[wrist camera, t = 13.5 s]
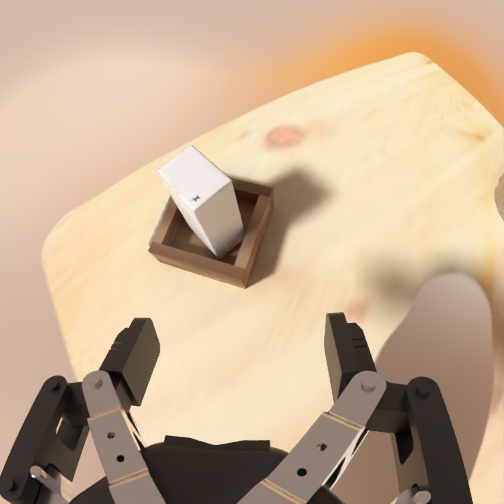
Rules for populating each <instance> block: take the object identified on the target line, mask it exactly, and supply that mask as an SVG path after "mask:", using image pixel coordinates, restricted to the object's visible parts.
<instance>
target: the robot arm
mask: <svg viewBox="0 0 504 504" xmlns="http://www.w3.org/2000/svg"><path fill="white" fill-rule="evenodd" d="M495 200H496V205H497V208H498V210H499V212H500V214H501V216H502V218H503V219H504V174H503V175H502V176H501V177H500V178H499V185H498V186H497V187H496V190H495ZM324 347H325V355H326V360H327V366H328V371H329V377H330V383H331V388H332V394H333V400H334V405H333V406H332V408H331V409H330V410H329V411H328V412H324V413H322V414H321V415H320V417H319V418H318V419H317V420H316V422H315V423H314V424H313V425H312V427H311V428H310V429H309V430H308V432H307V433H306V434H305V435H304V436H303V438H302V439H301V440H300V441H299V442H298V444H297V445H296V446H295V447H294V448H293V449H292V450H291V452H290V453H288V452H285V451H283V450H280V449H277V448H273V447H270V440H243V441H237V442H232V443H227V444H221V445H212V444H208V443H205V442H202V441H198V440H195V439H192V438H187V437H177V436H168V435H166V436H165V440H164V442H161V443H156V444H153V445H150V446H147V445H146V443H145V441H144V439H143V437H142V435H141V433H140V431H139V429H138V427H137V425H136V423H135V421H134V419H133V416H132V414H131V412H130V411H129V410H130V407H131V405H133V406H140V405H141V403H142V400H143V397H144V394H145V392H146V389H147V386H148V383H149V381H150V378H151V375H152V372H153V370H154V367H155V364H156V362H157V359H158V356H159V353H160V343H159V340H158V337H157V334H156V331H155V328H154V325H153V322H152V320H151V319H150V318H134V319H133V321H132V323H131V325H130V327H129V328H125V329H124V330H122V331H121V332H120V333H119V334H118V335H117V337H116V339H115V341H114V344H113V345H112V346H111V350H109V352H108V354H107V356H106V357H105V359H104V361H103V363H102V365H101V367H100V369H99V371H93V372H91V373H89V374H88V375H87V376H86V377H85V378H84V379H83V381H82V382H76V383H68V382H67V381H66V379H65V378H64V377H62V376H53V377H51V378H49V379H48V380H46V381H45V383H44V384H43V386H42V388H41V390H40V392H39V393H38V395H37V397H36V399H35V401H34V403H33V405H32V407H31V409H30V411H29V413H28V415H27V417H26V419H25V421H24V423H23V425H22V428H21V429H20V432H19V434H18V436H17V438H16V441H15V443H14V445H13V447H12V449H11V452H10V454H9V456H8V459H7V461H6V463H5V466H4V468H3V471H2V473H1V476H0V495H1V496H2V497H3V498H4V499H5V500H7V501H9V502H10V503H11V504H345V503H344V502H343V501H342V500H341V499H340V498H338V497H337V496H336V495H335V494H334V493H333V492H332V491H331V489H332V487H333V486H334V485H335V483H336V482H337V481H338V479H339V478H340V476H341V475H342V473H343V472H344V470H345V468H346V467H347V465H348V463H349V462H350V460H351V459H352V457H353V456H354V454H355V452H356V451H357V449H358V448H359V446H360V445H361V443H362V442H363V440H364V438H365V437H366V435H367V433H368V432H369V430H370V431H378V432H388V433H390V435H391V440H392V446H393V451H394V457H395V463H396V469H397V476H398V483H399V490H400V495H399V496H398V497H397V498H396V499H395V500H394V501H393V502H392V503H391V504H473V502H472V497H471V492H470V488H469V484H468V479H467V476H466V471H465V468H464V464H463V460H462V456H461V453H460V449H459V446H458V443H457V439H456V436H455V433H454V430H453V427H452V423H451V420H450V417H449V414H448V412H447V409H446V406H445V403H444V400H443V397H442V395H441V392H440V389H439V387H438V385H437V383H436V382H435V381H433V380H432V379H429V378H427V377H417V378H414V379H412V380H411V381H410V382H409V383H408V385H403V384H394V383H390V382H387V381H385V379H384V378H383V376H381V375H380V374H378V373H377V371H376V368H375V365H374V362H373V359H372V356H371V353H370V350H369V347H368V344H367V341H366V340H365V335H364V333H363V330H362V329H361V328H360V327H359V326H358V325H357V324H356V323H347V321H346V318H345V315H344V313H343V312H339V313H327V315H326V325H325V338H324ZM61 417H62V418H63V420H62V422H61V425H60V427H59V430H58V432H57V435H56V428H57V426H58V423H59V421H60V418H61ZM89 430H90V431H91V434H92V437H93V440H94V443H95V446H96V449H97V452H98V455H99V457H100V460H101V463H102V466H103V468H104V471H105V474H106V476H105V477H104V478H102V479H101V480H99V481H98V482H96V483H95V484H93V485H92V486H91V487H89V488H88V489H86V490H85V491H83V492H82V493H80V494H79V495H77V496H76V495H75V489H74V486H73V484H72V481H73V478H74V474H75V471H76V468H77V465H78V462H79V459H80V455H81V453H82V450H83V447H84V444H85V441H86V438H87V435H88V432H89Z"/></svg>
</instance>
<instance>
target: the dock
mask: <svg viewBox="0 0 504 504" xmlns="http://www.w3.org/2000/svg"><path fill="white" fill-rule="evenodd" d="M231 180H232V184H233V188H234V192H235V196H236V200H237V204H238V208H239V212H240V215H241V220H242V224H243V228H244V231H245V236H244V239H243V240H242V241H241V242H240V243H238V244H237V245H236V246H235V247H234V248H232V249H231V250H230V251H229V252H228V253H227V254H225V255H224V256H223V257H222V258H221V259H218V258H217V257H216V256H215V255H214V254H213V253H212V251H211V250H210V249H209V248H208V247H207V246H206V245H205V244H204V243H203V241H202V240H201V239H200V238H199V237H198V236H197V235H196V234H195V232H194V231H193V230H192V229H191V228H190V227H189V225H188V223H187V222H186V220H185V218H184V217H183V215H182V213H181V212H180V210H179V208H178V207H177V205H176V203H175V202H174V200H173V198H172V197H171V196H170V198H169V200H168V202H167V204H166V206H165V209H164V211H163V213H162V215H161V217H160V220H159V222H158V224H157V226H156V229H155V231H154V233H153V235H152V238H151V240H150V242H149V245H150V248H149V250H148V251H149V252H150V253H151V254H152V255H153V256H154V257H155V258H157V259H158V260H159V261H160V262H162V263H165V264H168V265H171V266H174V267H177V268H180V269H183V270H187V271H190V272H193V273H196V274H199V275H202V276H205V277H209V278H212V279H215V280H218V281H221V282H225V283H228V284H231V285H234V286H238V287H241V288H244V289H246V286H247V283H248V280H249V277H250V274H251V271H252V268H253V265H254V262H255V259H256V256H257V253H258V250H259V247H260V244H261V241H262V238H263V235H264V232H265V229H266V226H267V223H268V220H269V217H270V214H271V211H272V208H273V188H269V187H265V186H261V185H256V184H252V183H248V182H243V181H239V180H234V179H231Z"/></svg>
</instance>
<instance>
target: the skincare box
mask: <svg viewBox="0 0 504 504" xmlns="http://www.w3.org/2000/svg"><path fill="white" fill-rule="evenodd" d="M157 172H158V174H159V176H160V178H161V179H162V181H163V183H164V184H165V186H166V188H167V190H168V191H169V193H170V195H171V197H172V198H173V200H174V202H175V203H176V205H177V207H178V208H179V210H180V212H181V213H182V215H183V217H184V218H185V220H186V222H187V223H188V225H189V227H190V228H191V229H192V230H193V231H194V232H195V234H196V235H197V236H198V237H199V238H200V239H201V240H202V241H203V243H204V244H205V245H206V246H207V247H208V248H209V249H210V250H211V251H212V253H213V254H214V255H215V256H216V257H217V258H218V259H221V258H222V257H223V256H224V255H225V254H227V253H228V252H229V251H230V250H231V249H232V248H234V247H235V246H236V245H237V244H238V243H240V242H241V241H242V240H243V239H244V236H245V231H244V228H243V224H242V220H241V215H240V212H239V208H238V204H237V200H236V196H235V192H234V188H233V184H232V180H231V179H230V178H229V177H228V176H227V175H225V174H224V173H223V172H222V171H221V170H220V169H219V168H218V167H217V166H215V165H214V164H213V163H212V162H211V161H210V160H208V159H207V158H206V157H205V156H204V155H203V154H202V153H200V152H199V151H198V150H197V149H196V148H195V147H194V146H193V145H190V146H189V147H188V148H186V149H185V150H184V151H182V152H181V153H180V154H178V155H177V156H176V157H174V158H173V159H172V160H170V161H169V162H168V163H166V164H165V165H163V166H162V167H161V168H159V169H158V170H157Z"/></svg>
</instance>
